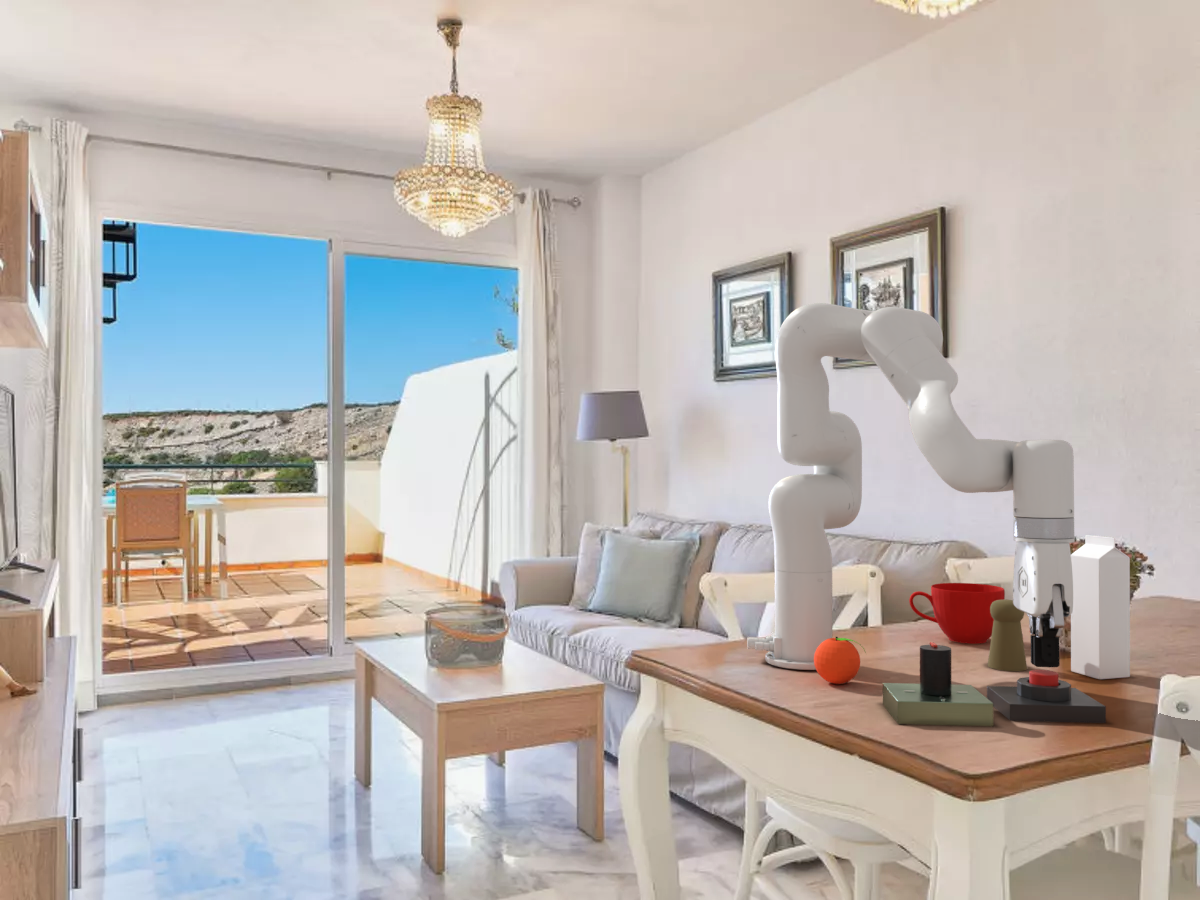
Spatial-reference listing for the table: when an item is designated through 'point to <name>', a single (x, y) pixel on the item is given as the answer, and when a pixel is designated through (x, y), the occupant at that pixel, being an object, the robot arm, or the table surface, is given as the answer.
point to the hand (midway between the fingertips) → (1045, 665)
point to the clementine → (837, 660)
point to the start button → (1043, 677)
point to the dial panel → (937, 706)
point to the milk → (1100, 610)
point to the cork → (1006, 637)
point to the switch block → (1045, 703)
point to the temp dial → (935, 669)
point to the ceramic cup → (962, 610)
